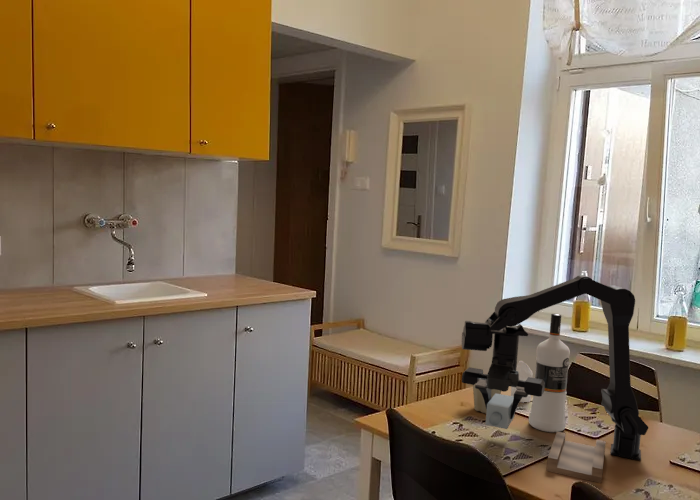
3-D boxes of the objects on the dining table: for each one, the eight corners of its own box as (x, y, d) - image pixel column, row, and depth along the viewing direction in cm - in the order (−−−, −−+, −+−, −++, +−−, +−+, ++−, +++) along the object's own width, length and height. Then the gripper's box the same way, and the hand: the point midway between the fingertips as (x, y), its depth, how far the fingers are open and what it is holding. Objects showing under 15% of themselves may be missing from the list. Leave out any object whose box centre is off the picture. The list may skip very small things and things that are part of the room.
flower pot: (461, 406, 174) (463, 376, 173) (488, 403, 178) (490, 374, 177) (481, 417, 165) (484, 385, 165) (509, 414, 169) (512, 383, 169)
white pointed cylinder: (537, 360, 182) (529, 364, 178) (533, 400, 183) (525, 404, 179) (518, 356, 186) (510, 359, 182) (514, 395, 187) (506, 399, 183)
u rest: (555, 443, 149) (556, 431, 149) (604, 453, 145) (605, 441, 145) (546, 470, 133) (547, 457, 133) (601, 483, 128) (602, 469, 128)
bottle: (494, 412, 154) (495, 393, 153) (514, 416, 151) (515, 396, 151) (482, 428, 142) (484, 407, 141) (504, 433, 140) (506, 411, 139)
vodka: (543, 418, 167) (553, 310, 165) (572, 430, 160) (583, 316, 157) (520, 423, 162) (530, 311, 160) (549, 435, 154) (559, 318, 152)
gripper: (458, 353, 143) (453, 418, 144) (541, 366, 135) (535, 435, 136) (469, 344, 153) (465, 405, 154) (547, 356, 145) (542, 420, 146)
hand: (500, 416), depth 147 cm, fingers closed on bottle, 5 cm apart
